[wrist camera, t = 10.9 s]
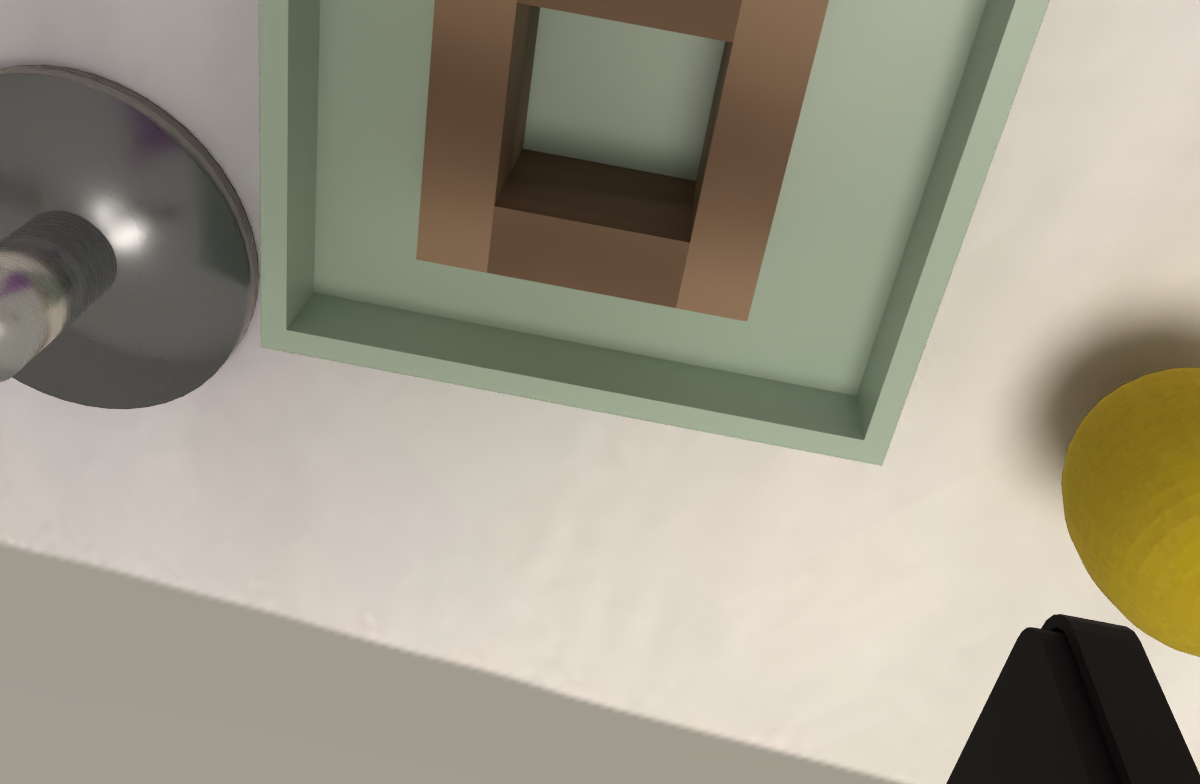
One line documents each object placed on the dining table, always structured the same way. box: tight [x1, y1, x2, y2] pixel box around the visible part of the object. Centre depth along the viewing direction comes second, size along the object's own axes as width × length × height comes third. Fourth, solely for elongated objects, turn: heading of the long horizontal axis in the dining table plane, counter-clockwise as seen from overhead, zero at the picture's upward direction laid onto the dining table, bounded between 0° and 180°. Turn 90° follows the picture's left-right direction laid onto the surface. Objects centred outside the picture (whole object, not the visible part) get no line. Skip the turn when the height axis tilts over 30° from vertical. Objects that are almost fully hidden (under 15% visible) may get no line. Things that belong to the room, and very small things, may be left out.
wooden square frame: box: [416, 0, 829, 322], centre depth 23 cm, size 7×7×4 cm
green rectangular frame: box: [259, 0, 1050, 466], centre depth 23 cm, size 15×15×2 cm
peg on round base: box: [0, 65, 259, 409], centre depth 26 cm, size 9×9×5 cm
